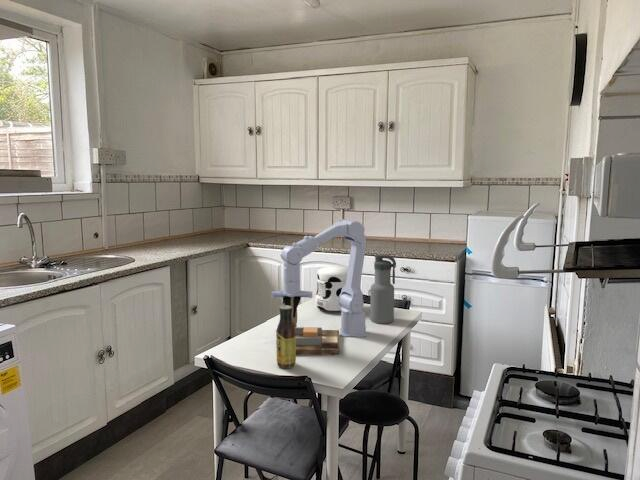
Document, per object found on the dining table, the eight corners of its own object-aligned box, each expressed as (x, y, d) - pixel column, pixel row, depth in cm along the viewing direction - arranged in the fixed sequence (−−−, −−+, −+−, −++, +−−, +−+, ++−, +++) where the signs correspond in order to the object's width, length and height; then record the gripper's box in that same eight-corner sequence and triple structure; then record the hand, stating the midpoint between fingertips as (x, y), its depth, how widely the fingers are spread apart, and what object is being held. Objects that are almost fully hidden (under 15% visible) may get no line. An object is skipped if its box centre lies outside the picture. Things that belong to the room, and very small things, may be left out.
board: (338, 335, 184) (338, 330, 184) (339, 355, 164) (339, 349, 164) (285, 334, 184) (285, 329, 184) (280, 354, 165) (280, 349, 164)
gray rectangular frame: (321, 333, 180) (321, 327, 179) (321, 345, 168) (321, 338, 168) (285, 333, 180) (284, 327, 180) (281, 344, 169) (281, 338, 168)
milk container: (356, 305, 224) (356, 267, 221) (350, 316, 207) (350, 275, 205) (320, 303, 228) (320, 265, 225) (311, 313, 211) (311, 273, 209)
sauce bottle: (276, 362, 159) (275, 303, 156) (295, 361, 159) (295, 303, 156) (276, 370, 152) (275, 309, 149) (296, 369, 153) (295, 309, 150)
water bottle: (394, 317, 206) (395, 253, 201) (395, 324, 196) (396, 257, 192) (370, 316, 207) (370, 252, 202) (370, 324, 197) (371, 257, 193)
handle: (295, 331, 189) (294, 294, 186) (282, 328, 192) (281, 291, 190) (302, 327, 193) (302, 291, 190) (289, 324, 196) (289, 289, 194)
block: (317, 336, 176) (317, 327, 176) (317, 341, 172) (317, 332, 171) (303, 336, 177) (303, 327, 176) (303, 341, 172) (303, 332, 171)
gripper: (270, 282, 167) (270, 320, 169) (311, 282, 167) (311, 320, 169) (272, 277, 174) (273, 314, 176) (312, 278, 174) (312, 314, 176)
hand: (292, 316), depth 173 cm, fingers closed
